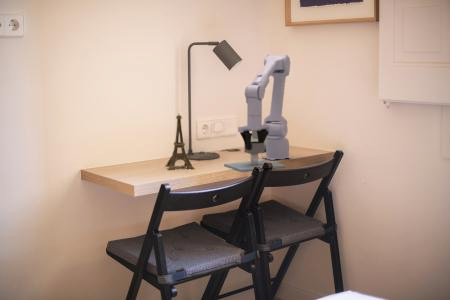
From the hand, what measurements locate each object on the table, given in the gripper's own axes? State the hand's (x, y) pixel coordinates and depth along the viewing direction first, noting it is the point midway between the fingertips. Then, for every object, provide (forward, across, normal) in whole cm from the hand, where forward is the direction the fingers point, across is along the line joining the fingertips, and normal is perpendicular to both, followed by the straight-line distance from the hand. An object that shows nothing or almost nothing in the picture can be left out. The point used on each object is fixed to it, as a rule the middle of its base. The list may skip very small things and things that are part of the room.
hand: (254, 149), depth 269 cm
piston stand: (+7, 0, 0) cm, 7 cm away
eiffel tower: (+8, +26, -15) cm, 31 cm away
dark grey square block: (+1, 0, 0) cm, 1 cm away
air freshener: (+7, -25, -32) cm, 41 cm away
